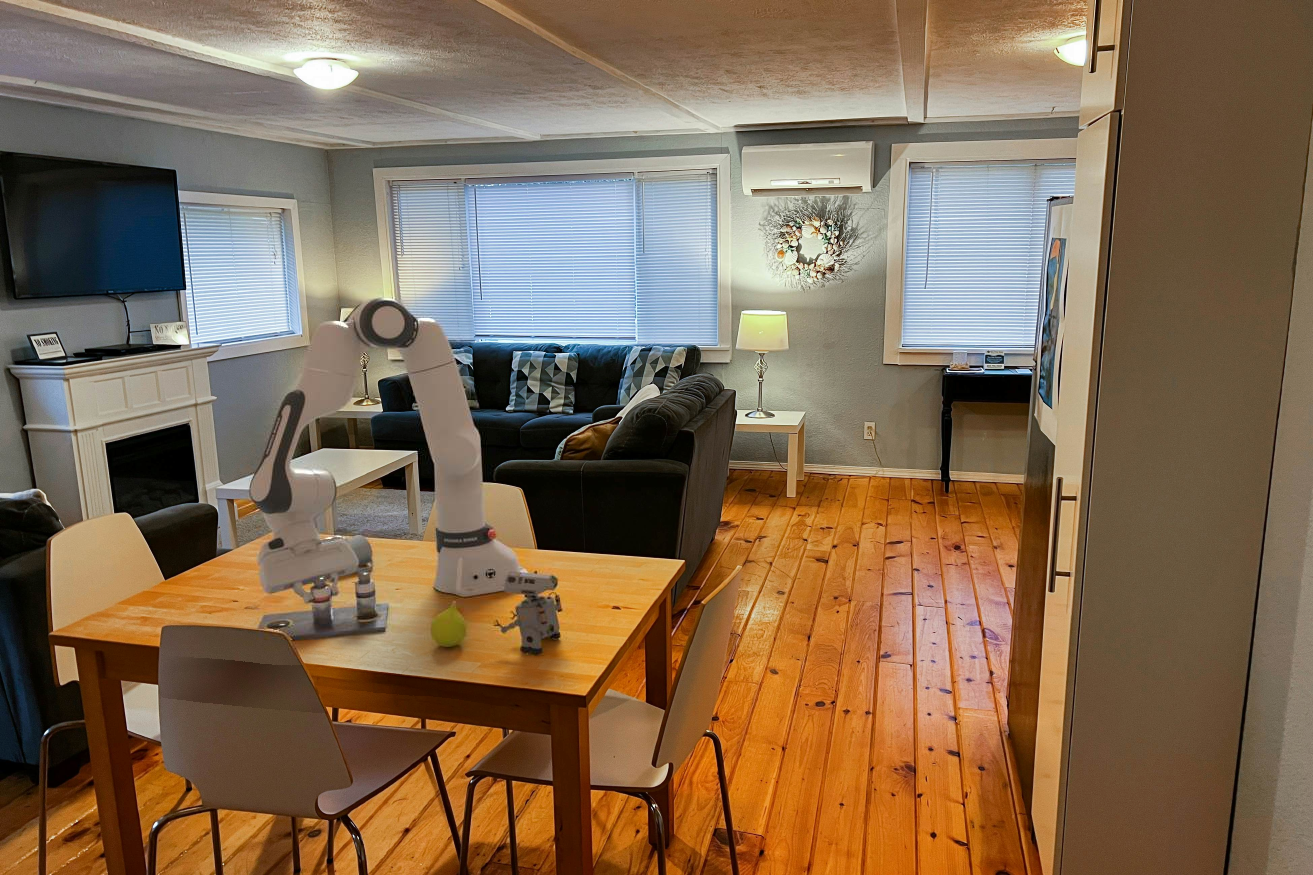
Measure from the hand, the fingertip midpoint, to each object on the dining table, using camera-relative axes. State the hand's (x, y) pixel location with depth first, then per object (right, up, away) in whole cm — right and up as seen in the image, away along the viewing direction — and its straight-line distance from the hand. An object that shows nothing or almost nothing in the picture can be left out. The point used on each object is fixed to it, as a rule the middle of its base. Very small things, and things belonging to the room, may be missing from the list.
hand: (322, 598), depth 196 cm
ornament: (+29, -8, -10) cm, 32 cm away
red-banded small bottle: (0, -5, +1) cm, 5 cm away
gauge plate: (0, -6, +2) cm, 6 cm away
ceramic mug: (-5, +1, +38) cm, 38 cm away
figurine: (+46, -8, -10) cm, 47 cm away
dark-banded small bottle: (+8, -4, +3) cm, 10 cm away
